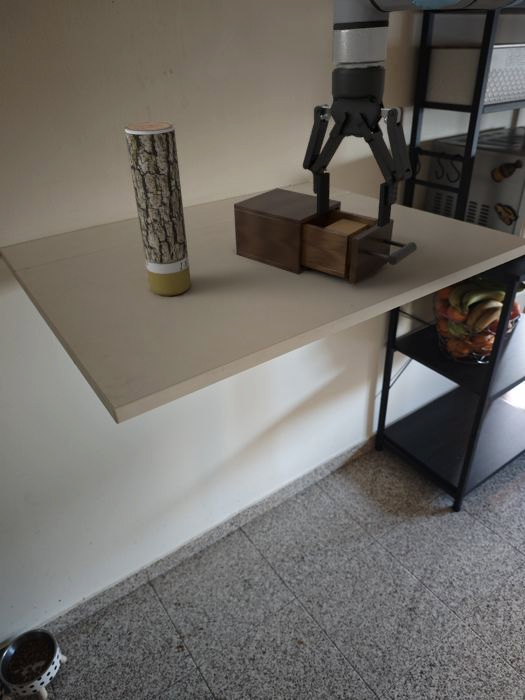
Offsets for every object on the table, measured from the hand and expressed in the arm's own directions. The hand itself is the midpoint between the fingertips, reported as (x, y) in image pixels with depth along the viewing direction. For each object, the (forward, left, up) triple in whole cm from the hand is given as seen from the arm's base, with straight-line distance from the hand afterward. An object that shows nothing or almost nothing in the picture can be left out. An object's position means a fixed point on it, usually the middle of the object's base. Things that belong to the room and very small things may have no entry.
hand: (351, 218), depth 82 cm
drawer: (-1, 0, -8) cm, 8 cm away
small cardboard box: (+1, -1, -7) cm, 8 cm away
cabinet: (+13, -5, -9) cm, 16 cm away
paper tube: (+27, +15, -10) cm, 32 cm away
